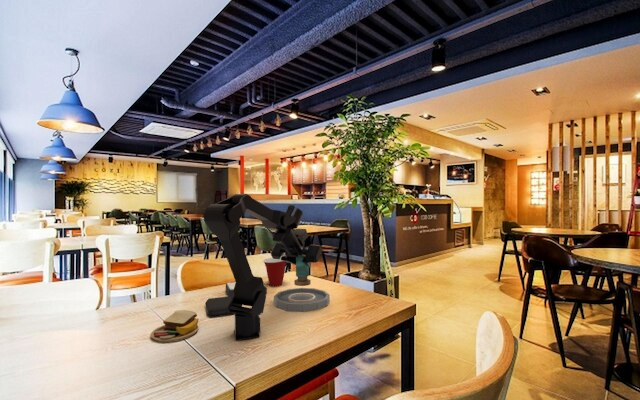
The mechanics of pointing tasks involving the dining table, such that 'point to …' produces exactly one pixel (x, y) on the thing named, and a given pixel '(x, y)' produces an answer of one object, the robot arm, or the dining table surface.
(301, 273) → the bead spool
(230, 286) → the calculator
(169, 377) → the dining table surface
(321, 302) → the round tray
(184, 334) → the toy sandwich meal
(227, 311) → the carrying case or bag
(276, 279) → the plastic cup
